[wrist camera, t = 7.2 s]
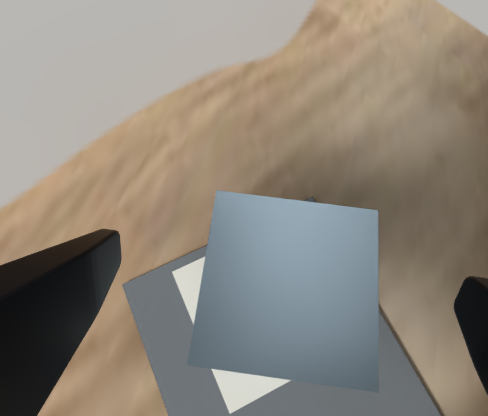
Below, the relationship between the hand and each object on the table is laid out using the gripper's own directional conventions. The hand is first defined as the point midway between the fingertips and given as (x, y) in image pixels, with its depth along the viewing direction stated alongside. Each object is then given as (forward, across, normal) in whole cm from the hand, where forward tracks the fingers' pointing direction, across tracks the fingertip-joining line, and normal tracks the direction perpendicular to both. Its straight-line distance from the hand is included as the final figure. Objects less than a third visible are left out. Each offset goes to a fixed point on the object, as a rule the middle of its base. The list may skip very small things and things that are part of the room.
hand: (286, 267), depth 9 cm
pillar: (+6, 0, +6) cm, 8 cm away
